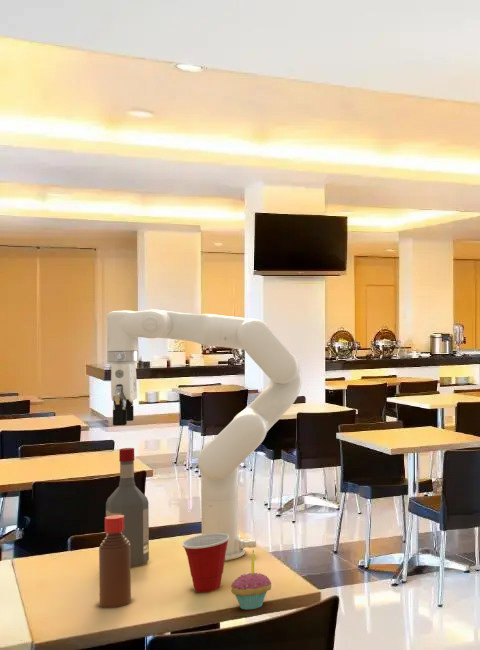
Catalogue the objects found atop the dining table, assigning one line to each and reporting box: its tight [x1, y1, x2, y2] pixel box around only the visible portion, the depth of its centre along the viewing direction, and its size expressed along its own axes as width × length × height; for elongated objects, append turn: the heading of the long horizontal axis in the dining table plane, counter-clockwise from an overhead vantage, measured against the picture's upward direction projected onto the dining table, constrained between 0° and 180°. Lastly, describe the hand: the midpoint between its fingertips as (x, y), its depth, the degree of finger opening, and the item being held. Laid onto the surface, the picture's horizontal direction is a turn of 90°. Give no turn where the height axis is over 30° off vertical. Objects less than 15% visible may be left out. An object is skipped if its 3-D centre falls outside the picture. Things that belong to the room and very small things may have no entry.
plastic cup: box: [181, 533, 230, 593], centre depth 206 cm, size 11×11×12 cm
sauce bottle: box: [98, 532, 132, 609], centre depth 197 cm, size 6×6×19 cm
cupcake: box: [230, 549, 272, 611], centre depth 193 cm, size 9×8×12 cm
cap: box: [104, 515, 125, 534], centre depth 197 cm, size 4×4×3 cm
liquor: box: [105, 447, 150, 568], centre depth 228 cm, size 9×9×30 cm
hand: (123, 423), depth 229 cm, fingers open, 9 cm apart
